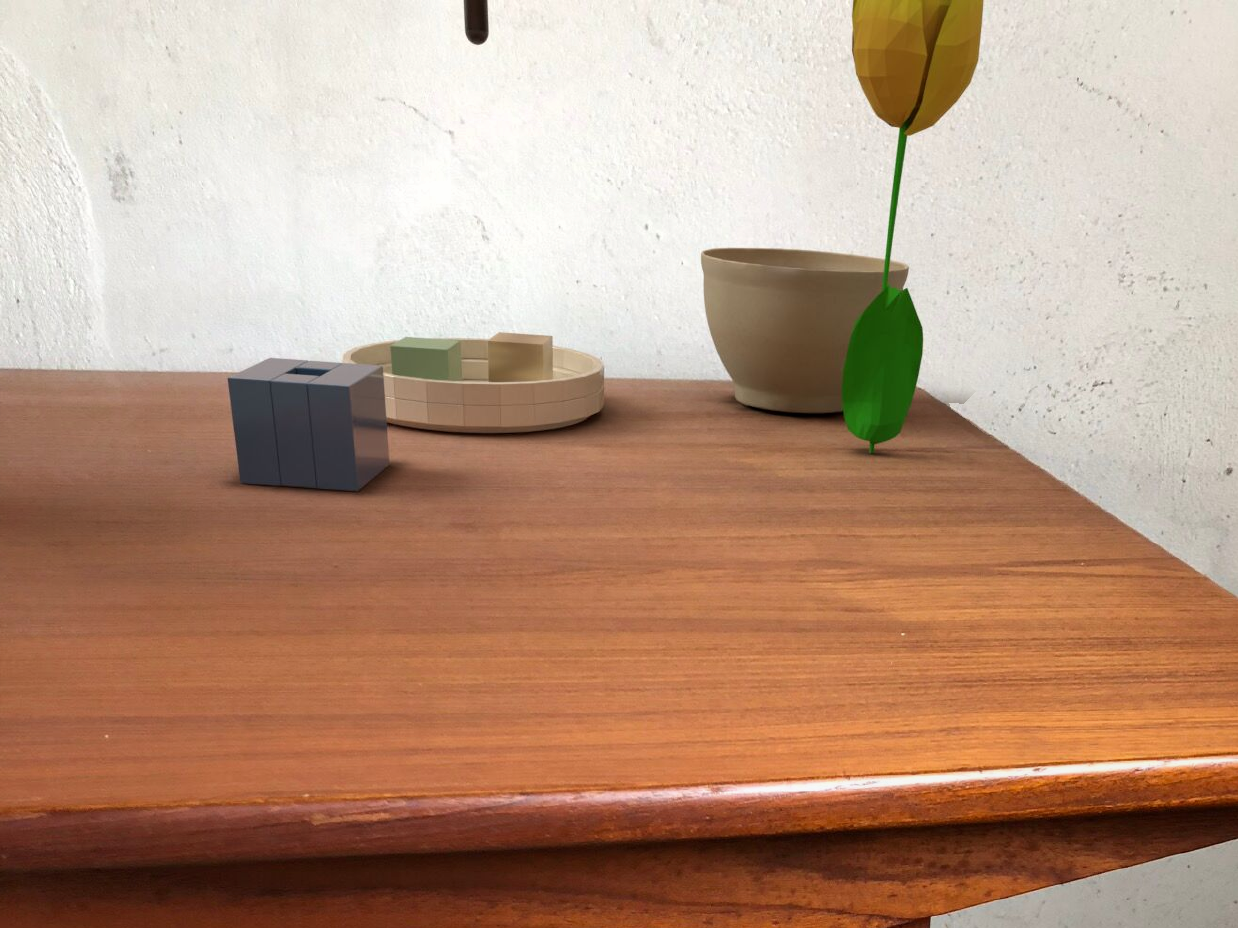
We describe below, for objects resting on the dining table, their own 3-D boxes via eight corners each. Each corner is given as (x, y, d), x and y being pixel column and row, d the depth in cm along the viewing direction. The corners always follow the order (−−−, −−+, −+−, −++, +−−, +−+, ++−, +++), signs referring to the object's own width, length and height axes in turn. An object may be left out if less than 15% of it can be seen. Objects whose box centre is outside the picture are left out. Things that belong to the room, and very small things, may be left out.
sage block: (393, 406, 104) (389, 345, 101) (408, 396, 107) (404, 336, 105) (450, 411, 103) (447, 349, 101) (463, 400, 107) (460, 340, 105)
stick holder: (240, 483, 85) (227, 377, 82) (280, 456, 91) (269, 357, 88) (357, 491, 85) (349, 386, 82) (389, 464, 91) (383, 365, 88)
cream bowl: (312, 425, 100) (307, 372, 98) (386, 377, 116) (383, 331, 114) (582, 444, 99) (582, 391, 97) (618, 393, 115) (618, 347, 114)
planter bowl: (928, 423, 112) (947, 271, 106) (741, 429, 106) (750, 269, 101) (838, 384, 124) (851, 246, 119) (666, 387, 119) (671, 243, 113)
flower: (805, 438, 105) (846, -59, 89) (912, 441, 106) (970, -50, 90) (826, 465, 97) (874, -71, 82) (940, 469, 98) (1009, -60, 83)
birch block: (489, 399, 108) (487, 340, 105) (500, 389, 111) (498, 332, 109) (543, 403, 107) (542, 344, 105) (553, 393, 111) (552, 335, 109)
